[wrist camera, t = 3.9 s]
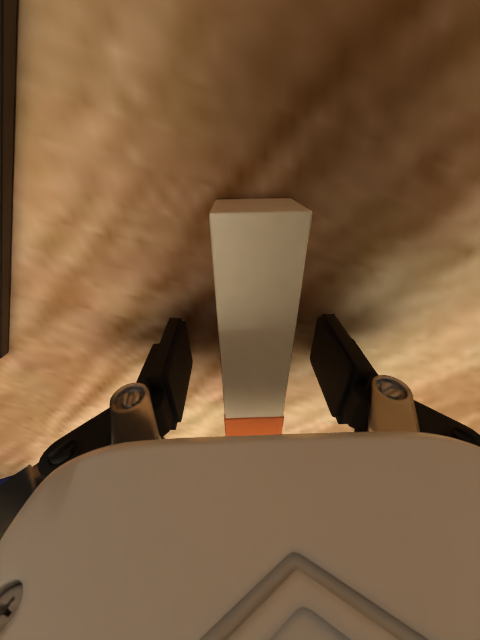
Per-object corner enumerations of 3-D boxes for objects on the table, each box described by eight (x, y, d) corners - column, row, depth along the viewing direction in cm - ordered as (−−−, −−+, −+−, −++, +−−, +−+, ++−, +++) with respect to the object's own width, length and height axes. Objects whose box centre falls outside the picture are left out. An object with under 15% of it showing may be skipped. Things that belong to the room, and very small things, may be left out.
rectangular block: (213, 199, 9) (206, 213, 7) (292, 197, 9) (316, 211, 7) (227, 406, 16) (226, 452, 14) (271, 405, 16) (279, 450, 14)
